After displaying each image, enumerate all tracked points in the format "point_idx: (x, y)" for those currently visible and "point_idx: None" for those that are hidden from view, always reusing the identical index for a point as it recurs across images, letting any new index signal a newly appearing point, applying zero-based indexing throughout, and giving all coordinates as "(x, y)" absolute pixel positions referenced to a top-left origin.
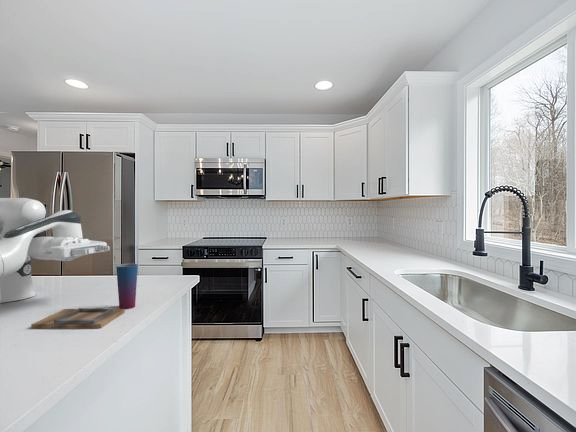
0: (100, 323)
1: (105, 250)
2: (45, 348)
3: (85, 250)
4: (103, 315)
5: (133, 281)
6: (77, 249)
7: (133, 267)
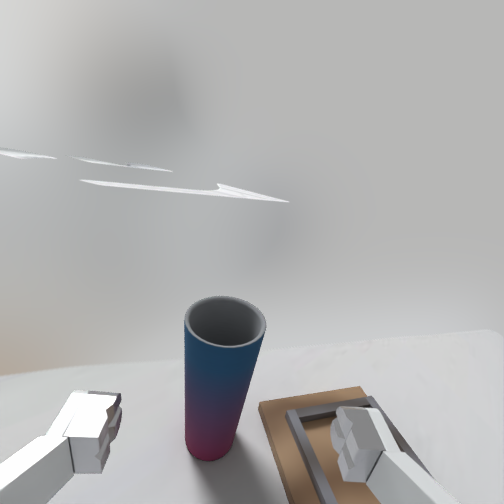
0: (359, 389)
1: (117, 428)
2: (471, 419)
3: (373, 409)
4: (336, 403)
5: (226, 345)
6: (436, 484)
7: (236, 302)
